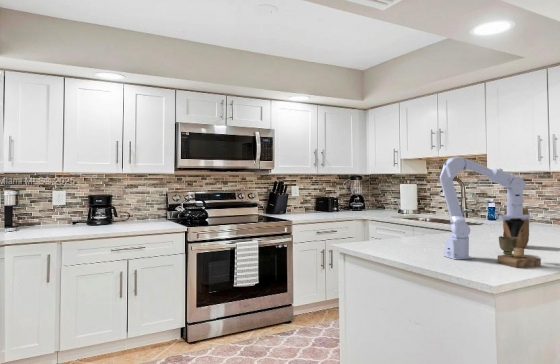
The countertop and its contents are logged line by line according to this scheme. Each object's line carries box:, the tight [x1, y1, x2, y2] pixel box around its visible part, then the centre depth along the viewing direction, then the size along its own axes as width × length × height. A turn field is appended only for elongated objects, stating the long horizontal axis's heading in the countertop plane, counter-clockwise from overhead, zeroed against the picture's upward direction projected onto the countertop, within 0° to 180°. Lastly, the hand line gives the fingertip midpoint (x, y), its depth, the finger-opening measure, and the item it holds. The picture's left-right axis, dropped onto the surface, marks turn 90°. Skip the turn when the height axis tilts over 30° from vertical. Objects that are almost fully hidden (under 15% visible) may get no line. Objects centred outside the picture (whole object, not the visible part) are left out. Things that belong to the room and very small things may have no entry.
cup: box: [498, 235, 518, 255], centre depth 172 cm, size 8×7×8 cm
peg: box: [513, 247, 525, 259], centre depth 152 cm, size 4×4×6 cm
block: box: [502, 207, 530, 249], centre depth 191 cm, size 11×8×20 cm
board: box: [497, 254, 542, 269], centre depth 152 cm, size 12×9×3 cm
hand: (514, 236), depth 160 cm, fingers closed
